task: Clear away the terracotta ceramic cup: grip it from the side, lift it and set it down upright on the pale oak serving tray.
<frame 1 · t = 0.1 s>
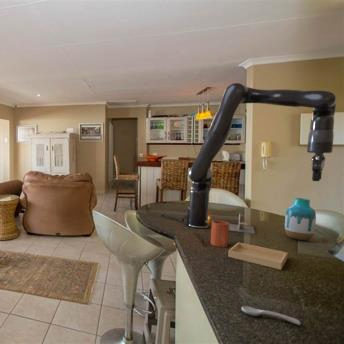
hand: (316, 180, 121), 29 cm above the breakfast bar, tool pointing down, fingers open, 8 cm apart
tray: (257, 257, 112), on the breakfast bar
architectural model: (240, 228, 153), on the breakfast bar
vase: (298, 239, 135), on the breakfast bar
spoon: (269, 318, 73), on the breakfast bar
cup: (218, 244, 127), on the breakfast bar
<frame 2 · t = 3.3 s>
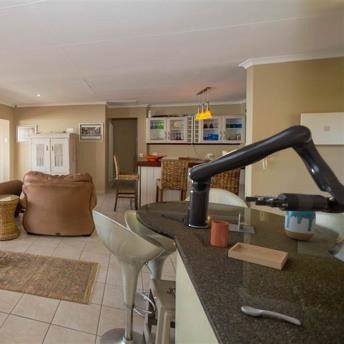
hand: (250, 200, 123), 20 cm above the breakfast bar, tool horizontal, fingers open, 8 cm apart
nothing on the breakfast bar moved.
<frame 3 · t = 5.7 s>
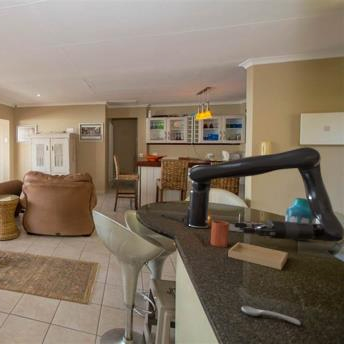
hand: (239, 227, 125), 8 cm above the breakfast bar, tool horizontal, fingers open, 8 cm apart
nothing on the breakfast bar moved.
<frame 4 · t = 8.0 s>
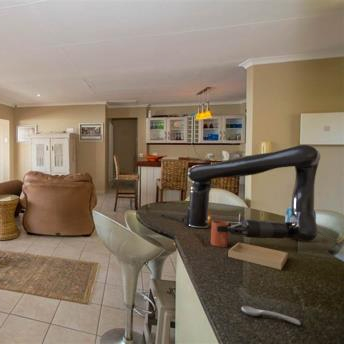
hand: (214, 226, 127), 8 cm above the breakfast bar, tool horizontal, fingers closed on cup, 6 cm apart
cup: (218, 244, 127), on the breakfast bar, touching gripper
everything else where it was.
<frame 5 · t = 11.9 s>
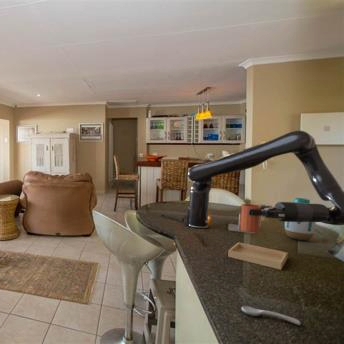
hand: (244, 210, 115), 18 cm above the breakfast bar, tool horizontal, fingers closed on cup, 6 cm apart
cup: (250, 230, 115), point 10 cm above the breakfast bar, touching gripper
everything else where it was.
when the fingers open (9 cm above the breakfast bar, at t = 15.6 s): cup stays where it is, resting on tray.
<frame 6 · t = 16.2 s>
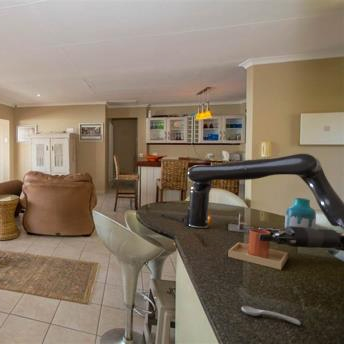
hand: (254, 234, 112), 9 cm above the breakfast bar, tool horizontal, fingers open, 8 cm apart
cup: (257, 256, 112), point 1 cm above the breakfast bar, touching tray
everything else where it was.
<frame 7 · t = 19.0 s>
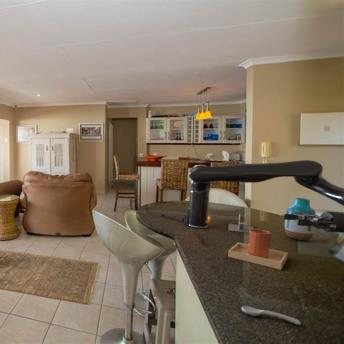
hand: (290, 219, 110), 16 cm above the breakfast bar, tool horizontal, fingers open, 8 cm apart
nothing on the breakfast bar moved.
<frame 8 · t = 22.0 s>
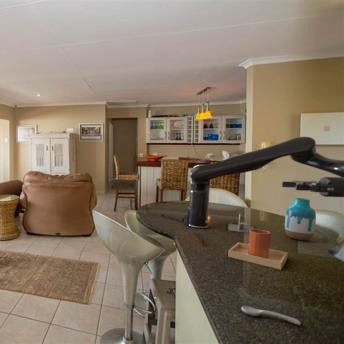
hand: (289, 185, 113), 28 cm above the breakfast bar, tool horizontal, fingers open, 8 cm apart
nothing on the breakfast bar moved.
at the end: cup inside the target area in the tray (0.1 cm from its centre), point 0.6 cm above the tray's base; cup tilted 0°; the gripper is holding nothing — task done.
